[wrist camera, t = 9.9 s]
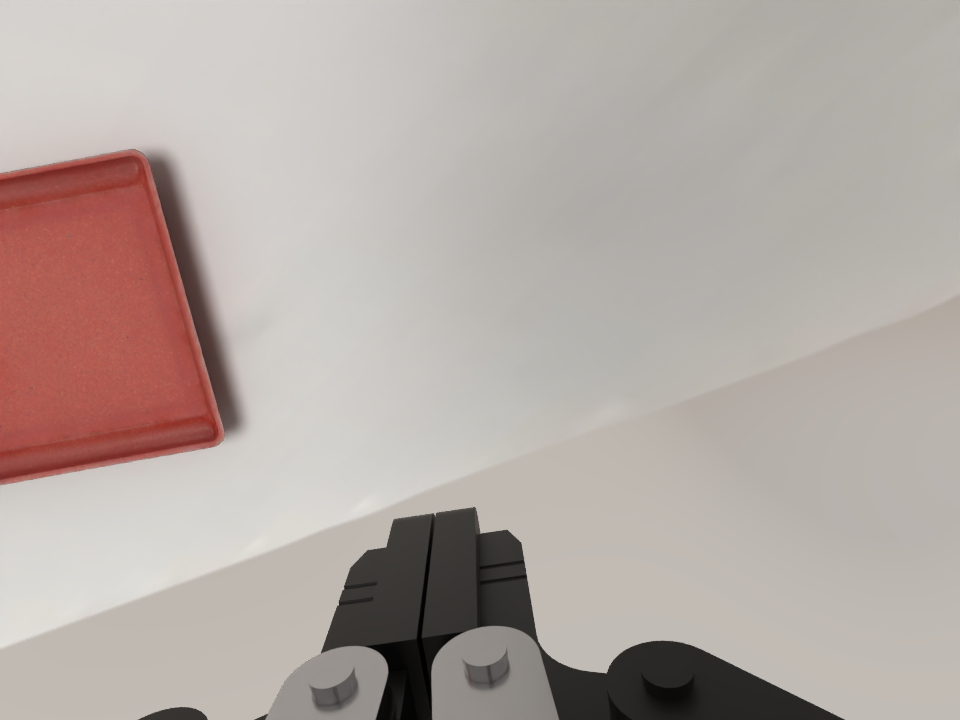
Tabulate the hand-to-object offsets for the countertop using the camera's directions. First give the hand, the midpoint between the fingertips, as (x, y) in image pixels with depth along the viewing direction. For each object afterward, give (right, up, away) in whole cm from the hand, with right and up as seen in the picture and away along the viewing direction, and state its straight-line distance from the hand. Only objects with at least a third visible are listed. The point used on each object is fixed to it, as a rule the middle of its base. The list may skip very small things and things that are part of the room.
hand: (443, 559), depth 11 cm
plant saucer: (-26, +6, +28) cm, 39 cm away
